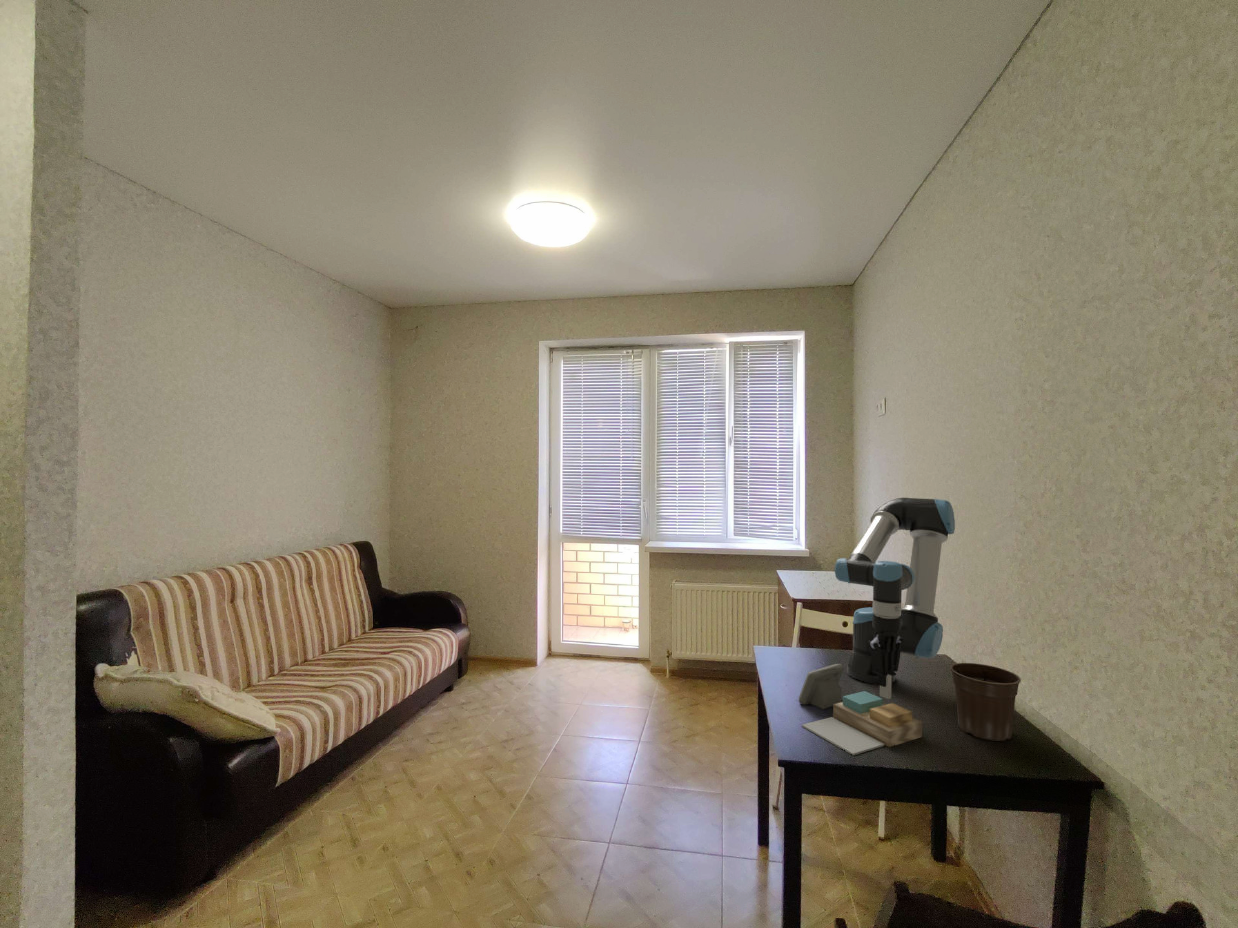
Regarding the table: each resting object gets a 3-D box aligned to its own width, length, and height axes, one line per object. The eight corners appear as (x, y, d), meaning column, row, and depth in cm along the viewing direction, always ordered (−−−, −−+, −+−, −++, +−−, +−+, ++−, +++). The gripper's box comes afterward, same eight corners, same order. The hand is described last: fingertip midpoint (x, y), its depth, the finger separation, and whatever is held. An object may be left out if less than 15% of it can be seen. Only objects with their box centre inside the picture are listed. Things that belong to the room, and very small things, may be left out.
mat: (831, 718, 159) (831, 716, 159) (884, 745, 144) (884, 743, 144) (801, 726, 154) (801, 724, 154) (853, 755, 139) (853, 753, 139)
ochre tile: (892, 711, 155) (892, 702, 155) (912, 720, 150) (912, 711, 150) (869, 717, 151) (869, 708, 151) (889, 727, 146) (889, 717, 146)
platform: (864, 710, 165) (864, 696, 165) (921, 736, 149) (922, 721, 149) (833, 718, 159) (833, 704, 159) (889, 747, 143) (889, 731, 143)
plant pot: (939, 715, 163) (940, 659, 163) (1001, 720, 160) (1002, 664, 160) (964, 742, 147) (965, 680, 147) (1032, 748, 144) (1033, 686, 144)
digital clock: (831, 692, 178) (832, 658, 178) (853, 703, 170) (854, 668, 170) (790, 699, 172) (791, 665, 172) (811, 711, 164) (812, 675, 164)
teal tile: (864, 699, 163) (864, 690, 163) (882, 707, 158) (882, 698, 158) (842, 704, 159) (842, 696, 159) (860, 713, 154) (860, 704, 154)
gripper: (883, 621, 156) (881, 705, 156) (913, 616, 162) (911, 697, 162) (860, 614, 163) (858, 695, 163) (890, 610, 169) (888, 688, 169)
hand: (885, 696), depth 163 cm, fingers closed
